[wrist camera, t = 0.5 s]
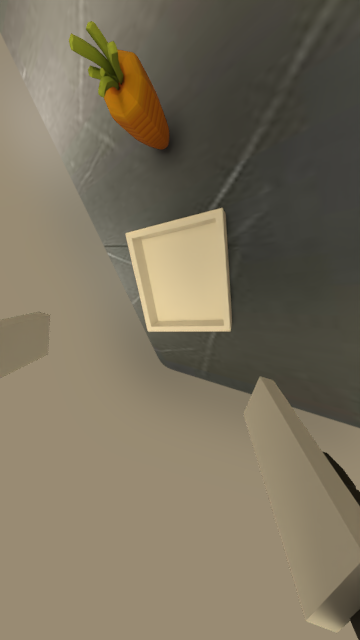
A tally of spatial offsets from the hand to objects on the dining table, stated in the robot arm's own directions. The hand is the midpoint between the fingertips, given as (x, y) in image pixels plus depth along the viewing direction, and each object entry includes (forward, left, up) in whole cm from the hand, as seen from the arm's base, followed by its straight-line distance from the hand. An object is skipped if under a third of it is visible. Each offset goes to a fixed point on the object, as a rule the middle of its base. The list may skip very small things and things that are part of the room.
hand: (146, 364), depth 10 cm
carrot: (-23, -5, -24) cm, 33 cm away
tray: (-3, -5, -24) cm, 24 cm away
